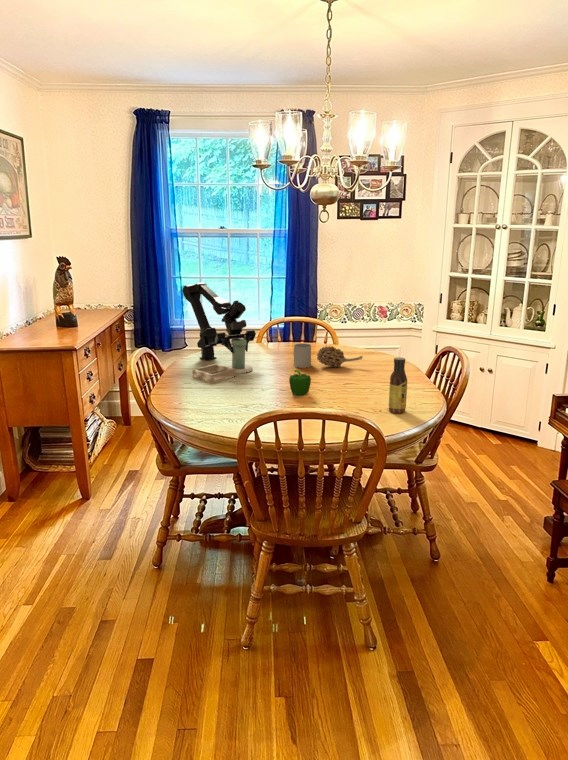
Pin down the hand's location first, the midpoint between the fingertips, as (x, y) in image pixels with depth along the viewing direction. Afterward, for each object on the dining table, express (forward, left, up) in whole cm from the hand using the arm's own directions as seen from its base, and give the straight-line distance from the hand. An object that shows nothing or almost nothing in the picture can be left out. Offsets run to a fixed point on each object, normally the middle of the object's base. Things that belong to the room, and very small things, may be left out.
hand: (240, 352), depth 259 cm
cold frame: (-1, -14, -9) cm, 17 cm away
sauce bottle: (+85, +2, -9) cm, 85 cm away
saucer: (-1, +1, -9) cm, 9 cm away
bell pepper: (+45, -7, -9) cm, 46 cm away
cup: (+15, +27, -9) cm, 32 cm away
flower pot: (-2, 0, -8) cm, 8 cm away
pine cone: (+30, +37, -9) cm, 48 cm away
